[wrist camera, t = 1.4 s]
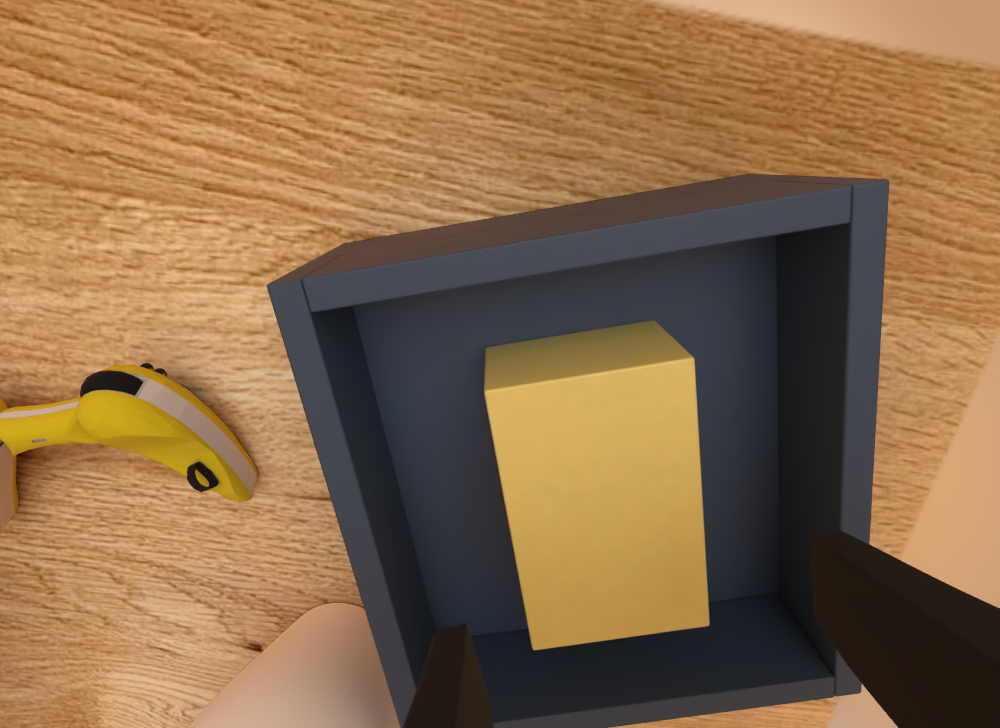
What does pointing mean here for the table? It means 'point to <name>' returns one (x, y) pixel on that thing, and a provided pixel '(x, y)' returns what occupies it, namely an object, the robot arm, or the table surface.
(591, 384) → the notepads
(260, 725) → the mug
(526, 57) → the table surface
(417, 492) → the bin
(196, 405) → the game controller
